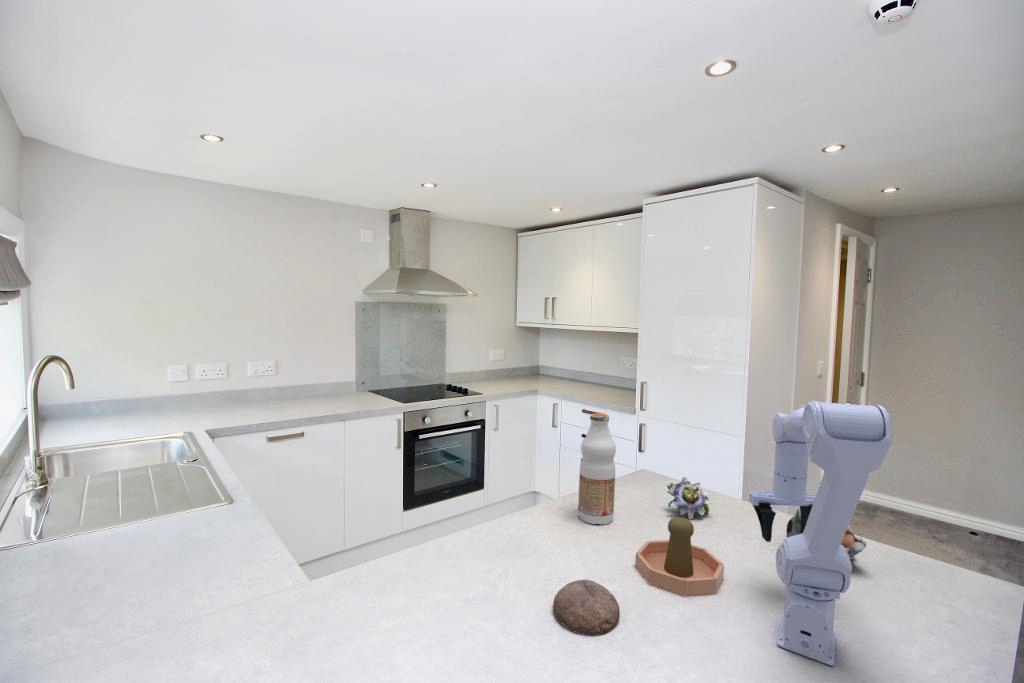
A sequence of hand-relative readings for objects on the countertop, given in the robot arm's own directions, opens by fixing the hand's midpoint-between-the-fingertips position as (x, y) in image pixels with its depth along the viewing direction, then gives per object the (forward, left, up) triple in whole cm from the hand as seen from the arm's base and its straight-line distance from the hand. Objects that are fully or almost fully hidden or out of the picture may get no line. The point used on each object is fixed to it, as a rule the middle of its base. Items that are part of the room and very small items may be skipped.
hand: (785, 540), depth 96 cm
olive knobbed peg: (-6, +19, -10) cm, 22 cm away
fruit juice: (+8, +45, -11) cm, 47 cm away
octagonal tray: (-6, +19, -10) cm, 22 cm away
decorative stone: (-31, +28, -11) cm, 44 cm away
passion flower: (+27, +26, -11) cm, 39 cm away
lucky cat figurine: (+23, -6, -11) cm, 26 cm away
